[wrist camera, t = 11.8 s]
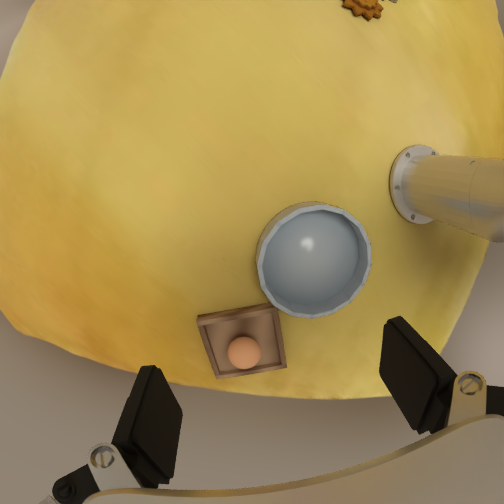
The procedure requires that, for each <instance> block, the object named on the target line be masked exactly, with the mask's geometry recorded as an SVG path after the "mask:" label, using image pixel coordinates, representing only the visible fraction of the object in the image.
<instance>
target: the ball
mask: <svg viewBox="0 0 504 504" xmlns="http://www.w3.org/2000/svg"><path fill="white" fill-rule="evenodd" d="M260 356H261V349H260V346H259V345H258V343H257V342H256V341H255V340H254V339H252V338H249V337H239V338H236V339H235V340H233V341H232V342H231V344H230V345H229V347H228V358H229V360H230V362H231V363H232V364H233V365H234V366H235V367H237V368H240V369H248V368H251V367H253V366H255V365H256V364H257V363H258V361H259V359H260Z"/></svg>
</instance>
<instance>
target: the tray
mask: <svg viewBox="0 0 504 504" xmlns="http://www.w3.org/2000/svg"><path fill="white" fill-rule="evenodd" d="M196 322H197V325H198V328H199V331H200V334H201V337H202V340H203V343H204V346H205V349H206V352H207V354H208V357H209V360H210V363H211V366H212V368H213V371H214V374H215V376H216V379H222V378H229V377H236V376H243V375H249V374H255V373H261V372H266V371H272V370H277V369H282V368H287V363H286V357H285V351H284V344H283V338H282V332H281V326H280V320H279V313H278V308H277V307H275V306H273V304H272V303H271V302H270V303H265V304H259V305H254V306H249V307H243V308H238V309H232V310H227V311H221V312H215V313H209V314H203V315H198V316H197V321H196ZM239 337H249V338H252V339H254V340H255V341H256V342H257V343H258V345H259V346H260V349H261V356H260V359H259V361H258V363H257V364H256V365H255V366H253V367H251V368H248V369H240V368H237V367H235V366H234V365H233V364H232V363H231V362H230V360H229V358H228V347H229V345H230V344H231V342H232V341H233V340H235V339H236V338H239Z"/></svg>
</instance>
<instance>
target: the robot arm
mask: <svg viewBox="0 0 504 504" xmlns="http://www.w3.org/2000/svg"><path fill="white" fill-rule="evenodd" d="M390 192H391V197H392V200H393V203H394V205H395V207H396V209H397V210H398V212H399V213H400V214H401V215H402V216H403V217H404V218H405V219H406V220H408V221H410V222H413V223H416V224H427V223H430V222H432V221H434V220H437V221H440V222H442V223H445V224H448V225H451V226H453V227H456V228H459V229H461V230H464V231H466V232H469V233H471V234H474V235H476V236H479V237H482V238H484V239H487V240H489V241H492V242H498V243H501V242H504V159H496V158H484V157H470V156H452V155H439V154H438V153H437V152H436V151H435V150H434V149H432V148H431V147H428V146H425V145H413V146H410V147H407V148H406V149H404V150H403V151H402V152H401V153H400V154H399V155H398V156H397V158H396V159H395V161H394V164H393V166H392V170H391V174H390ZM379 373H380V377H381V378H382V380H383V382H384V383H385V385H386V386H387V388H388V390H389V391H390V393H391V395H392V396H393V398H394V400H395V401H396V403H397V405H398V406H399V408H400V410H401V411H402V413H403V415H404V416H405V418H406V420H407V421H408V423H409V425H410V427H411V428H412V429H413V430H417V432H418V434H422V433H424V432H426V431H428V430H429V431H430V433H431V435H429V436H428V437H425V438H423V439H421V440H419V441H417V442H415V443H413V444H410V445H408V446H406V447H403V448H401V449H399V450H396V451H394V452H392V453H389V454H387V455H384V456H382V457H379V458H376V459H373V460H371V461H368V462H365V463H362V464H359V465H356V466H353V467H350V468H346V469H343V470H339V471H336V472H333V473H329V474H325V475H321V476H317V477H312V478H308V479H303V480H299V481H293V482H288V483H281V484H276V485H269V486H260V487H251V488H241V489H226V490H169V489H157V488H158V484H169V480H170V478H173V475H174V469H175V462H176V455H177V448H178V442H179V435H180V429H181V423H182V416H183V414H182V409H181V407H180V405H179V404H178V402H177V400H176V398H175V396H174V394H173V393H172V391H171V389H170V387H169V385H168V383H167V381H166V379H165V377H164V375H163V373H162V371H161V369H160V368H157V367H156V366H155V365H150V366H142V367H141V368H140V370H139V373H138V375H137V378H136V380H135V383H134V386H133V388H132V391H131V393H130V396H129V397H128V399H127V401H126V404H125V406H124V409H123V412H122V414H121V417H120V420H119V423H118V425H117V428H116V431H115V434H114V436H113V439H112V442H111V444H109V443H101V444H97V445H96V446H94V447H93V448H92V449H91V450H90V451H89V453H88V455H87V462H88V464H86V465H85V466H83V467H81V468H79V469H77V470H76V471H74V472H72V473H70V474H68V475H66V476H64V477H62V478H60V479H58V480H57V481H56V482H55V484H54V486H53V490H52V493H53V496H52V497H51V496H50V495H48V496H47V497H46V498H45V499H44V500H43V501H41V502H40V503H39V504H504V387H498V386H489V385H486V380H485V379H484V377H483V376H482V375H480V374H479V373H477V372H474V371H465V372H463V373H461V374H459V375H457V374H456V373H455V372H454V371H453V370H452V369H451V367H450V366H449V365H448V364H447V363H446V362H445V361H444V360H443V359H442V358H441V356H440V355H439V354H438V353H437V352H436V351H435V350H434V349H433V348H432V347H431V346H430V345H429V344H428V343H427V341H425V340H424V339H423V338H422V337H421V336H420V335H419V334H418V333H417V332H416V331H415V330H414V329H413V328H412V327H411V326H410V324H409V323H408V322H407V321H406V320H405V319H404V318H403V317H401V316H397V317H394V318H391V319H389V320H388V321H387V324H385V325H384V329H383V341H382V351H381V359H380V367H379Z"/></svg>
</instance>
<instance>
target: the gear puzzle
mask: <svg viewBox="0 0 504 504" xmlns="http://www.w3.org/2000/svg"><path fill="white" fill-rule="evenodd" d="M382 1H384V0H382ZM389 1H391V2H393V3H396V2H397V0H389ZM377 2H378V0H345V1H344V3H343V6H345V7H348V8H352V10H353V12H354V14H355V15H361V14H363V15H364V16H365V17H366V18H367V19H369V20H371V19H372V17H373V16H375V17H377V18H380V17H381V13H380V11H382V10H383V9H384V8H383V7H382V6H381V5H380V4H379V3H377Z"/></svg>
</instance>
